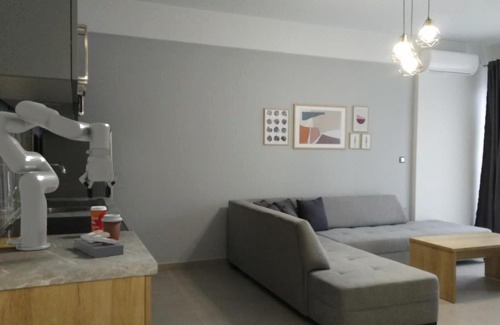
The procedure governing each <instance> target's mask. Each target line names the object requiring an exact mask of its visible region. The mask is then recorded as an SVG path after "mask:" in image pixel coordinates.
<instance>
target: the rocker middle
mask: <svg viewBox="0 0 500 325" xmlns="http://www.w3.org/2000/svg"><path fill="white" fill-rule="evenodd" d="M95 237H102V238H107V237H110V234H109V233H107V232H104V233H101V234H98V235H95ZM86 240H87V242H89V243H93V242H96V241H95V240H93V237H90V238H87V239H86Z"/></svg>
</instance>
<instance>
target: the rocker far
mask: <svg viewBox="0 0 500 325" xmlns="http://www.w3.org/2000/svg"><path fill="white" fill-rule="evenodd" d="M101 233H103V231H101V230H97V231H94V232H92V231H91V232H89V233H86V234H85V233H84V234H83V235H80V239H82V240H86V239H87V238H90V237H93V236H95V235H98V234H101Z"/></svg>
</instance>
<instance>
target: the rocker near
mask: <svg viewBox="0 0 500 325" xmlns="http://www.w3.org/2000/svg"><path fill="white" fill-rule="evenodd" d="M93 240H95V241H100V242H107V243H114V244H116V243H118V242H117V241H116V240H114V239H109V238H102V237H95V236H93Z"/></svg>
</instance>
